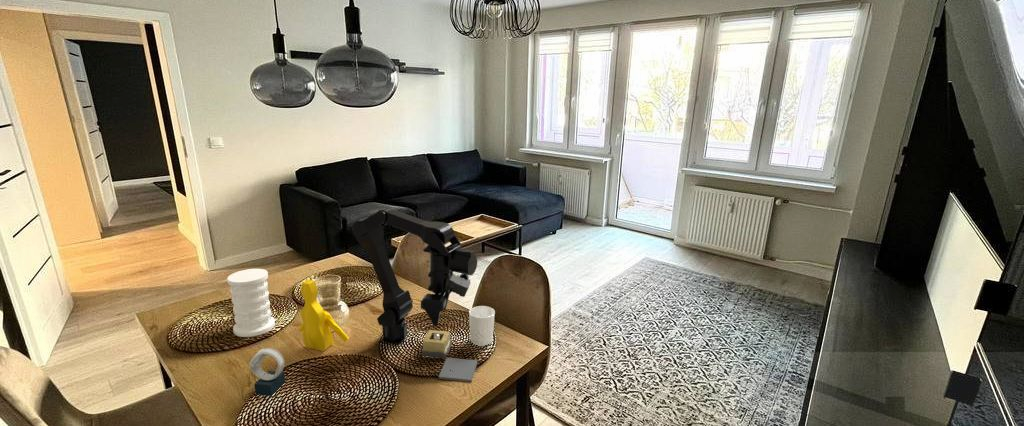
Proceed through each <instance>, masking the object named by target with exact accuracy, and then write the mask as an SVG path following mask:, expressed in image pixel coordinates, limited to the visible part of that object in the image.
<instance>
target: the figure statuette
mask: <svg viewBox="0 0 1024 426" xmlns="http://www.w3.org/2000/svg"><path fill="white" fill-rule="evenodd" d="M300 292H301V296H302V298H303V300H304V306H303V307H302V308H301V311H300V316H301V319H302V323H301V324H300V325H299V327H298V331H299V333H302V339H303V343H304V345H305V347H306V348H307V349H311V350H316V351H321V352H324V351H325V350H327V349H328V348H329V347H331V346H333V345H334V337H333V333H332V331H333V332H334V333H335V334H336V335H337V336H338V337H339V338H340V339H341V340H342V341H343V342H344V343H345V342H346V341H347V340H349V339H350V337H349V336H348V335H347V334H346V333H345V332H344V330H343V329H342V328H341V327H340V326H339V325H338V324H337V322H336V321H335V320H334V319H333V316H332V315H331V314H330V312H329V311H327V310H325V309H324V308H323V307H322V305H321V304H320V303H319V301H318V300H317V298H318V293H319V289H318V286H317V283H316V281H315V279H308V278H307V280H305V281H304V282H302V283H301V288H300ZM331 329H332V330H331Z"/></svg>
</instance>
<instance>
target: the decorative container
mask: <svg viewBox="0 0 1024 426" xmlns="http://www.w3.org/2000/svg"><path fill="white" fill-rule="evenodd" d="M268 278H269V273H268V271H267V270H266V269H264V268H249V269H247V268H246V269H242V270H239V271H235V272H233V273H231V274H229V275H228V276H227V279H226V280H227V284H228V285H229V286H230V293H231V295H232V297H231V303H232V304H233V306H232V307H233V308H232V311H233V313H234V321H235V324H234V325H233V326H232V327H233V328H232V333H233V334H234V335H235V336H237V337H240V338H242V337H243V338H250V337H255V336H257V337H258V336H260V335H263V334H266V333H268V332H269V331H271V330H272V329H273V328H274V327H275V325H276V321H275V320H276V319H275V318H274V317H273V316H272V310H271V308H270V306H271V302H270V291H269V290H268V287H269V283H268V281H267V279H268Z"/></svg>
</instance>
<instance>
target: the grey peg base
mask: <svg viewBox="0 0 1024 426" xmlns="http://www.w3.org/2000/svg"><path fill="white" fill-rule="evenodd" d="M434 340H440V334H439V333H436V334H434ZM450 347H451V348H452V340H451V339H450V342H449V344H448V346H447V348H446V351H445V352H434V351H423V349H421V357H422V356H431V357H439V358H446V359H447V357H446V355H447V353H448V354H449V352H450V350H451V348H450ZM449 349H450V350H449ZM448 351H449V352H448ZM447 356H448V355H447Z"/></svg>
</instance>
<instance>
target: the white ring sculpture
mask: <svg viewBox="0 0 1024 426" xmlns="http://www.w3.org/2000/svg"><path fill="white" fill-rule="evenodd" d="M267 356H270V357H271V358H273V359H274V360H275V361H276V363H277V367H276V370H267V371H264V370H263V368H261V364H262V363H263V361H264V360H265V358H266V357H267ZM285 364H286V362H285V358H284V356H283V355H282V353H280V351H279V350H277V349H275V348H273V347H265V348H261V349H259V351H257V352H256V353H255V354H254V355H253V356H252V358H251V360H250V362H249V363H248V367H250V371H251V372H252V373H253V374H254V376H256V377H257V378H258V380H257V381H255V383H254V391H255V395H256V396H265V397H266V396H267V397H273V396H274V395H275V394H276V393H277V392H278V391H279V390H280V389H281V388H282V387H283V386H284V385H285V384H286V383H285V382H286V376H285V372H284V371H283V370H284V369H285ZM284 383H285V384H284ZM283 384H284V385H283ZM282 385H283V386H282ZM281 386H282V387H281ZM280 387H281V388H280ZM279 388H280V389H279ZM278 389H279V390H278ZM277 390H278V391H277ZM276 391H277V392H276ZM275 392H276V393H275ZM274 393H275V394H274ZM273 394H274V395H273ZM272 395H273V396H272Z"/></svg>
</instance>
